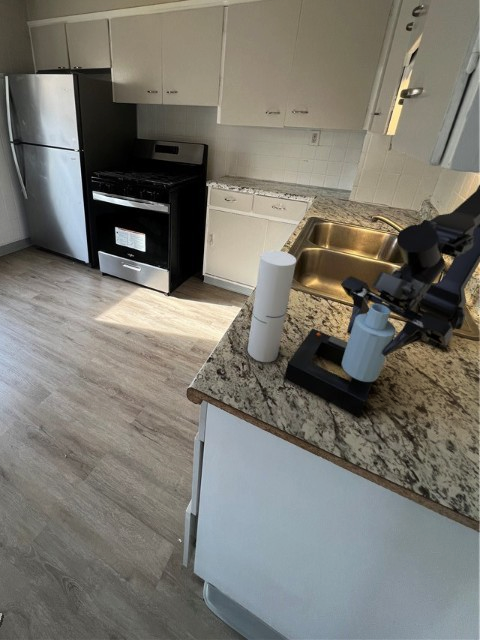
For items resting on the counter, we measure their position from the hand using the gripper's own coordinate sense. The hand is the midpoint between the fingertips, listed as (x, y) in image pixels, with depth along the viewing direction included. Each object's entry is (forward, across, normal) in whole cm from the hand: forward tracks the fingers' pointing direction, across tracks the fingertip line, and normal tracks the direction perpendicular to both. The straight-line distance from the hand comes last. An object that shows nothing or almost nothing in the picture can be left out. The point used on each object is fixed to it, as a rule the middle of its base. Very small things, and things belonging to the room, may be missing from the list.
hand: (365, 343), depth 59 cm
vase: (+4, 0, +6) cm, 7 cm away
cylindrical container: (+14, -18, +5) cm, 24 cm away
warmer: (+8, -5, +10) cm, 14 cm away
